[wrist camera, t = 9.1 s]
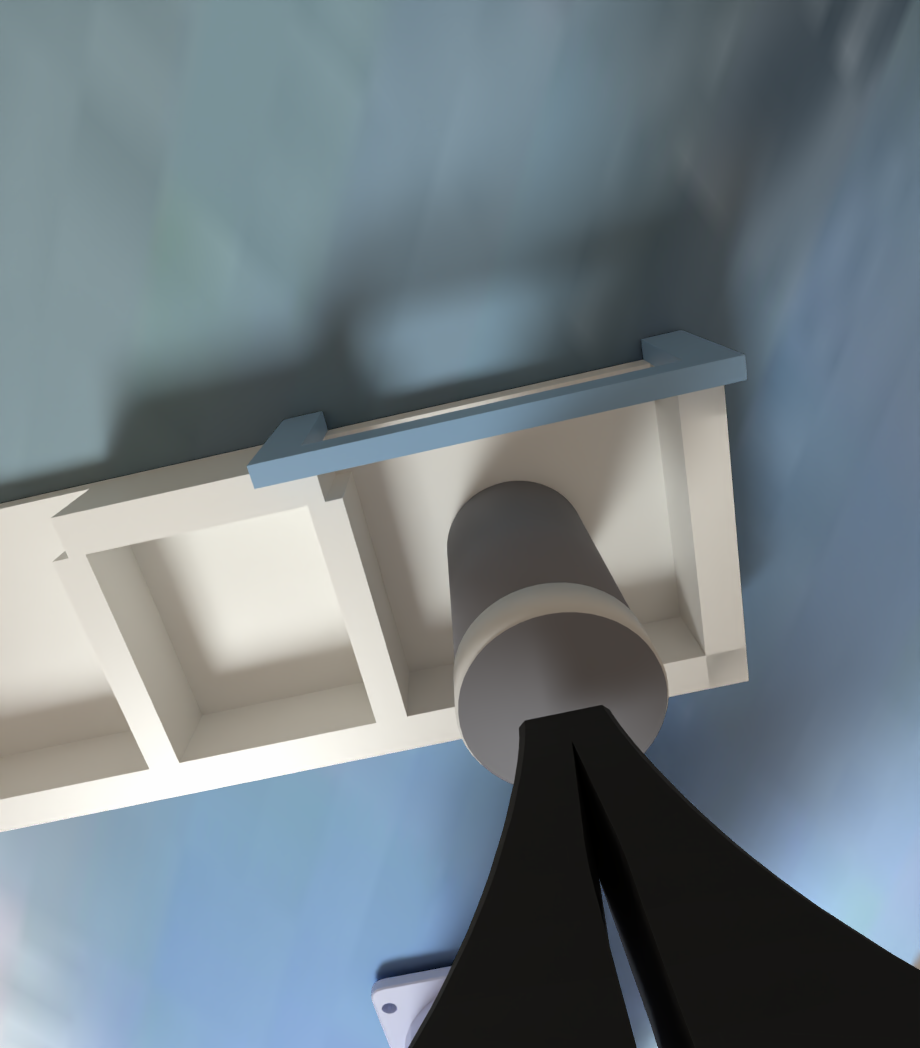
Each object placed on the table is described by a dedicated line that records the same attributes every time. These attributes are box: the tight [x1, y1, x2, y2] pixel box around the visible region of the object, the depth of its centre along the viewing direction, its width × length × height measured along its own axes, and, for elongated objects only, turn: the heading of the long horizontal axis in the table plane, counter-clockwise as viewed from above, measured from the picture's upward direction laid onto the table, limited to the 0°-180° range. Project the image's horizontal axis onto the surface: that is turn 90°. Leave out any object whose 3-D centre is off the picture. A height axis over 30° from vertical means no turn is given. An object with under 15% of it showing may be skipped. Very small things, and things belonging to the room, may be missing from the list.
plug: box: [447, 481, 669, 785], centre depth 16 cm, size 4×4×7 cm
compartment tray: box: [0, 330, 749, 832], centre depth 18 cm, size 8×24×4 cm, turn 102°
